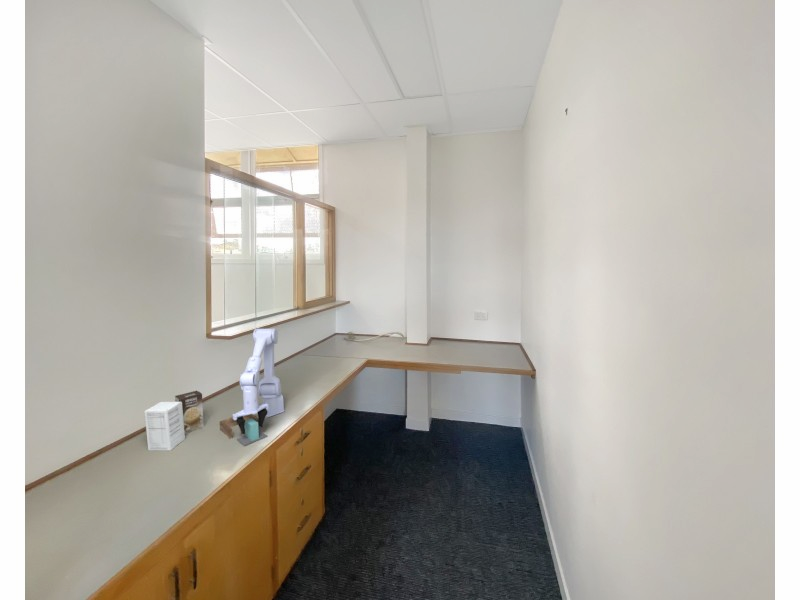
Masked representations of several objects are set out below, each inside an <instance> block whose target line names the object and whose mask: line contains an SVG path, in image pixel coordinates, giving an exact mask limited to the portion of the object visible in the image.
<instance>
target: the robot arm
mask: <svg viewBox="0 0 800 600" xmlns="http://www.w3.org/2000/svg"><path fill="white" fill-rule="evenodd" d="M278 333H279V332H278V330H277V329H276V328H275V327H274V328H255V329H254V330H253V333H252V338H253V342H254V347H253V351H252V356H250V357H248V359H247V363H246V366H245V369H244V371H243V372H242V373H241V374H240V375H239V376H240V377H239V385H240V389H241V391H242V401H243V403H242V404H243V405H242V406H243V409H242V410H238V411H237V412H236V413H232V417H233V420H236V422H237V423H238V427H239V430H240V433H241V434H242V435H245V420H244V418H243V417H244V416H247V415H250V414H253V415H255V414H257V416H258V417H257V418H258V421H259V426H260V427H259V428H263V427H264V426H263V425H264V422H265V418H266V419H267V418H270V417H273V416H276V415H279V414H281V413H284V412H285V407H284V406H285V405H284V396H283V394H282V393H281V392H282V384H281V378H278V377H277V376H276V375H275V345H276V344H278V341H279V340H278V337H279V336H278V335H279V334H278ZM262 355H263V359H262ZM262 363H263V378H261V379H260V375H261V374H260V373H261V372H260V370H261V367H262ZM259 397H260V398H261V399H262V404H259Z"/></svg>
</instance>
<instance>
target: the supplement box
mask: <svg viewBox="0 0 800 600" xmlns="http://www.w3.org/2000/svg"><path fill="white" fill-rule="evenodd" d="M144 420H145V433H146V440H147V441H146V442H147V451H148V452H149V451H153V452H154V451H156V452H157V451H161V452H166V451H168V452H169V451H172V450H173V449H175V448H176V447H178V445H179V444H181V443H182V442H183V441H185V440H186V436H185V434H186V433H185V432H184V420H183V409H182V402H175V401H160V402H157V403H156V404H155V405H153V406H151V407H149V408H148V409H145V410H144Z"/></svg>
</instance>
